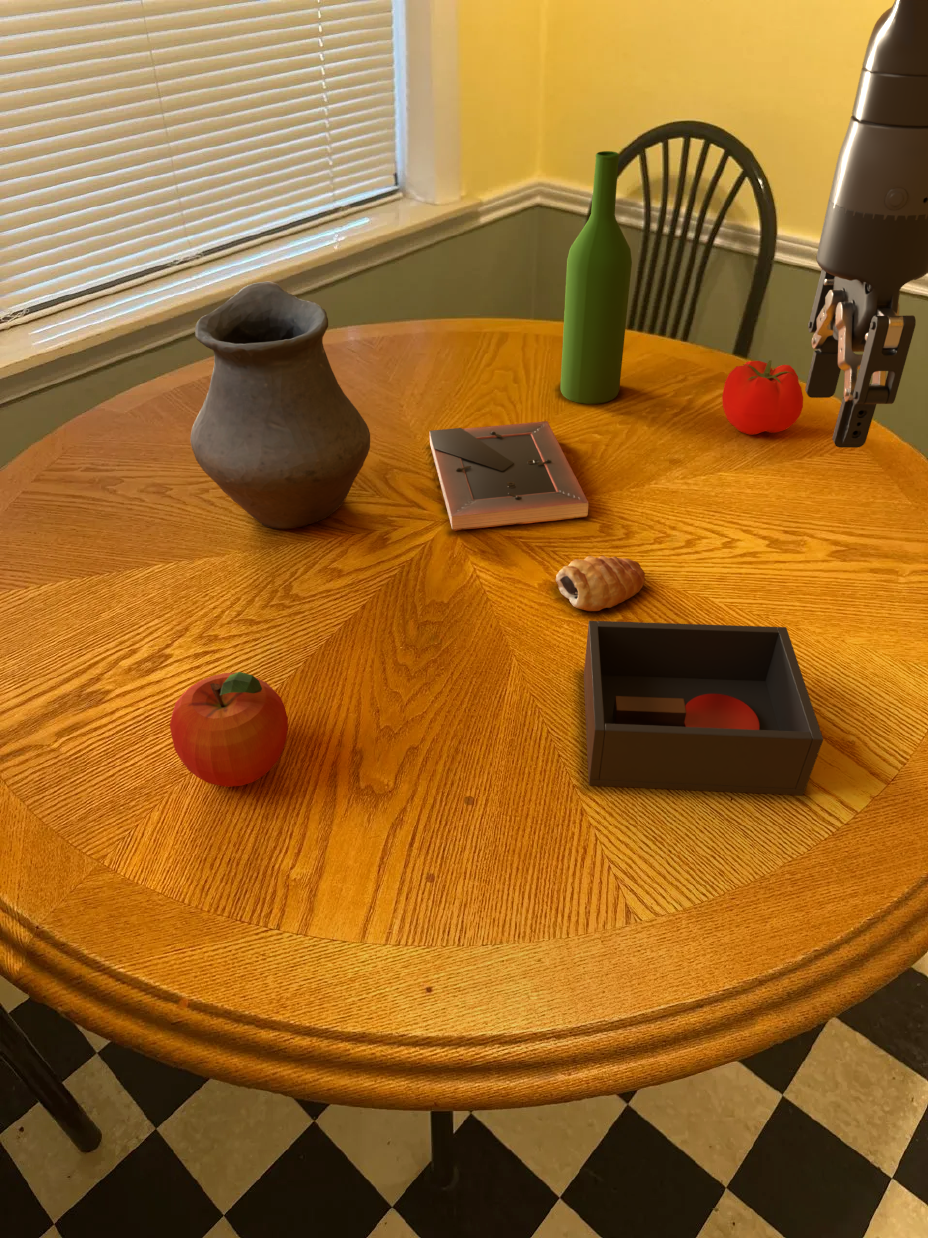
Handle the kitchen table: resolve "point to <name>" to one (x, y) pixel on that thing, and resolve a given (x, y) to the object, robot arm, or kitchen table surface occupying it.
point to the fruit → (229, 728)
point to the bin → (687, 668)
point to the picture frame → (505, 476)
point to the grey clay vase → (276, 410)
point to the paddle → (685, 712)
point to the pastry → (600, 581)
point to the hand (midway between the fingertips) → (832, 419)
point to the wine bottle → (596, 296)
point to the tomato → (762, 397)
